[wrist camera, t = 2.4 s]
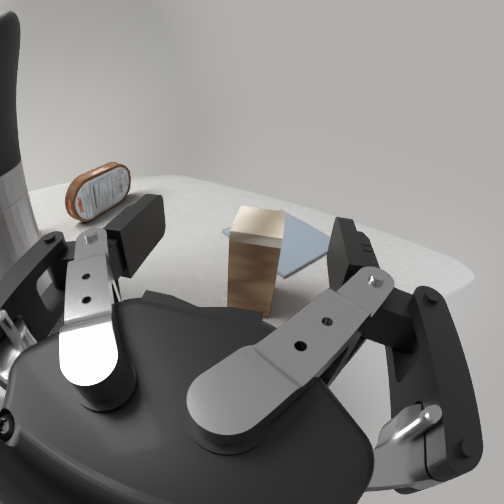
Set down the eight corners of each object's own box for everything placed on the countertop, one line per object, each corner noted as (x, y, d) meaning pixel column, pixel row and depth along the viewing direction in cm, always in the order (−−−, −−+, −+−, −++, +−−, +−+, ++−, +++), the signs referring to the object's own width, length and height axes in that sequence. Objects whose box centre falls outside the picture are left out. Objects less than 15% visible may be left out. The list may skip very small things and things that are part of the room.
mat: (283, 278, 34) (284, 275, 34) (222, 232, 42) (222, 230, 41) (339, 245, 41) (340, 243, 41) (281, 211, 49) (281, 209, 49)
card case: (227, 311, 29) (229, 230, 23) (236, 281, 33) (240, 205, 27) (268, 318, 28) (282, 238, 23) (273, 287, 32) (285, 212, 27)
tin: (125, 194, 51) (121, 155, 47) (135, 196, 51) (131, 157, 46) (70, 227, 40) (59, 183, 35) (79, 231, 39) (68, 186, 34)
